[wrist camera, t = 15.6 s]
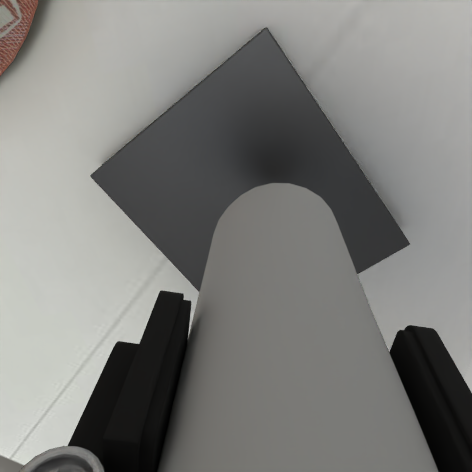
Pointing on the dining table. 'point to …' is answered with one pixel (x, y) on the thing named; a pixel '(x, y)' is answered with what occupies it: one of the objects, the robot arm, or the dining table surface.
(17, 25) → the planter
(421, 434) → the beverage can
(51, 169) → the dining table surface
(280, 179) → the dark grey flat block
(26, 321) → the dining table surface
